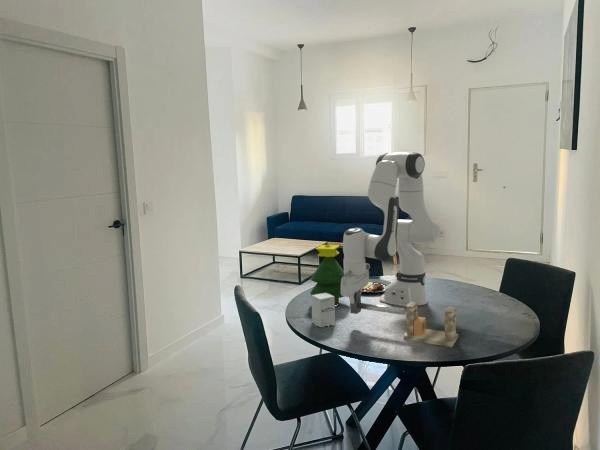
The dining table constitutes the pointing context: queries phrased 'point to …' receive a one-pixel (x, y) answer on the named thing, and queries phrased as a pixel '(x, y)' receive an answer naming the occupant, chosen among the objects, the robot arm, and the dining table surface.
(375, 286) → the food plate
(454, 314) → the shaft stand
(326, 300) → the supplement box
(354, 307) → the shaft
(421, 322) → the spacer
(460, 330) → the dining table surface
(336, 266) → the decorative tree
